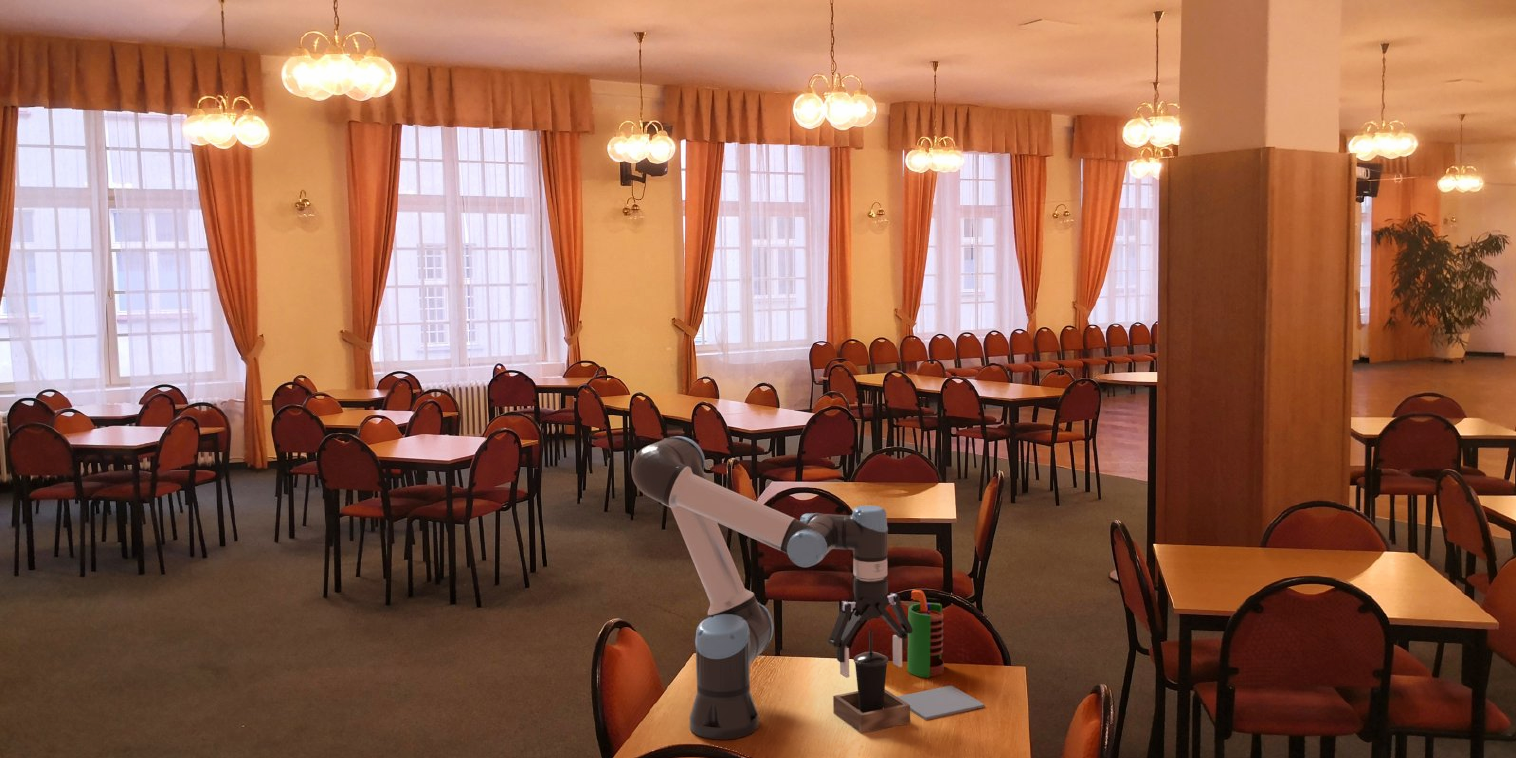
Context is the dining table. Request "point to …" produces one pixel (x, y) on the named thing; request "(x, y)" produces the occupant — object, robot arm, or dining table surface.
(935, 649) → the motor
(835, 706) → the walnut collar
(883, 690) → the drinking cup
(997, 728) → the dining table surface
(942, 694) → the slate mat
